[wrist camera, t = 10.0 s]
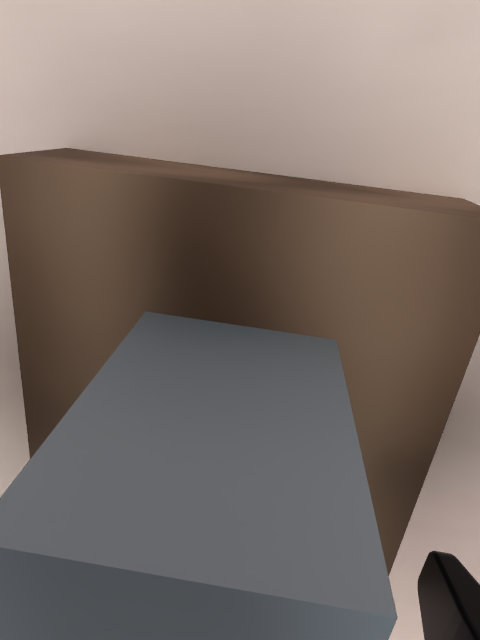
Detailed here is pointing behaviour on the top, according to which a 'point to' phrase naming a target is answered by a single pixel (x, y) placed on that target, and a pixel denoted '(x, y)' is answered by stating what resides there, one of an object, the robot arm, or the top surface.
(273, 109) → the top surface
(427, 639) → the robot arm
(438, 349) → the walnut block
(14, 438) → the top surface
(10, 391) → the top surface
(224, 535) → the slate block
